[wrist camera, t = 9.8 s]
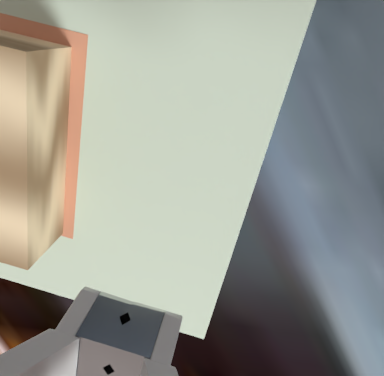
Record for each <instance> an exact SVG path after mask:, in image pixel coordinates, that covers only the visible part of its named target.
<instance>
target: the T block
mask: <svg viewBox="0 0 384 376" xmlns="http://www.w3.org/2000/svg"><path fill="white" fill-rule="evenodd" d="M71 50H72V47H70V46H66V45H62V44H57V43H53V42H49V41H45V40H41V39H37V38H33V37H29V36H25V35H21V34H16V33H12V32H8V31H4V30H0V262H1V263H4V264H8V265H11V266H15V267H18V268H22V269H25V270H29V269H30V268H31V266H32V265H33V264H34V263H35V262H36V261H37V260H38V259H39V258H40V257H41V256H42V255H43V254H44V253H45V252H46V251H47V250H48V249H49V248H50V247H51V245H52V244H53V243H54V242H55V241H56V240H57V239H58V238H59V237H60V236H61V235H62V234H63V220H64V199H65V178H66V156H67V135H68V114H69V93H70V71H71Z"/></svg>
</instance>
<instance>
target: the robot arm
mask: <svg viewBox="0 0 384 376" xmlns="http://www.w3.org/2000/svg"><path fill="white" fill-rule="evenodd" d="M181 322H182V315H178V314H175V313H171V312H168V311H166V312H165V310H162V309H158V308H155V307H151V306H148V305H144V304H141V303H137V302H132V301H129V300H126V299H123V298H120V297H117V296H114V295H111V294H108V293H105V292H101V291H98V290H95V289H92V288H89V287H86V286H85V287H84V288H83V289H82V290H81V291H80V292H79V294H78V295H77V297H76V298H75V300H74V302H73V303H72V305H71V306H70V308H69V309H68V311H67V312H66V314H65V315H64V317H63V318H62V320H61V321H60V323H59V324H58V326H57V328H56V329H55V330H53V329H48V330H46V331H44V332H43V333H41V334H39V335H37V336H35V337H33V338H31V339H29V340H27V341H26V342H24V343H22V344H20V345H18V346H16V347H14V348H12V349H10V350H9V351H7V352H5V353H3V354H1V355H0V376H178V373H177V370H176V367H173V366H170V365H171V362H172V358H173V354H174V350H175V346H176V342H177V338H178V334H179V330H180V326H181Z"/></svg>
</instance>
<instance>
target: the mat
mask: <svg viewBox="0 0 384 376" xmlns="http://www.w3.org/2000/svg"><path fill="white" fill-rule="evenodd" d="M315 3H316V0H0V30H4V31H8V32H12V33H16V34H21V35H25V36H29V37H33V38H37V39H41V40H45V41H49V42H53V43H57V44H62V45H66V46H70V47H72V50H71V71H70V93H69V114H68V135H67V156H66V178H65V199H64V220H63V234H62V235H61V236H60V237H59V238H58V239H57V240H56V241H55V242H54V243H53V244H52V245H51V247H50V248H49V249H48V250H47V251H46V252H45V253H44V254H43V255H42V256H41V257H40V258H39V259H38V260H37V261H36V262H35V263H34V264H33V265H32V266H31V268H30V269H29V270H25V269H22V268H18V267H15V266H11V265H8V264H4V263H1V262H0V278H4V279H7V280H10V281H13V282H17V283H20V284H23V285H27V286H30V287H33V288H37V289H40V290H43V291H46V292H50V293H53V294H56V295H60V296H63V297H66V298H70V299H73V300H75V298H76V297H77V295H78V294H79V292H80V291H81V290H82V289H83V288H84V287H85V286H86V287H89V288H92V289H95V290H98V291H101V292H105V293H108V294H111V295H114V296H117V297H120V298H123V299H126V300H129V301H132V302H137V303H141V304H144V305H148V306H151V307H155V308H158V309H162V310H165V312H166V311H168V312H171V313H175V314H178V315H182V322H181V326H180V330H179V332H182V333H185V334H188V335H192V336H195V337H198V338H202V339H204V337H205V334H206V331H207V328H208V325H209V322H210V319H211V316H212V313H213V310H214V307H215V304H216V301H217V298H218V295H219V292H220V289H221V286H222V283H223V280H224V277H225V274H226V271H227V268H228V265H229V262H230V259H231V256H232V253H233V250H234V247H235V244H236V241H237V238H238V235H239V232H240V229H241V226H242V223H243V220H244V217H245V214H246V211H247V208H248V205H249V202H250V199H251V196H252V193H253V190H254V187H255V184H256V181H257V178H258V175H259V172H260V169H261V166H262V163H263V159H264V156H265V153H266V150H267V147H268V144H269V141H270V138H271V135H272V132H273V129H274V126H275V123H276V120H277V117H278V114H279V111H280V108H281V105H282V102H283V99H284V96H285V93H286V90H287V87H288V84H289V81H290V78H291V75H292V72H293V69H294V66H295V63H296V60H297V57H298V54H299V51H300V48H301V45H302V42H303V39H304V36H305V33H306V30H307V27H308V24H309V21H310V18H311V15H312V12H313V9H314V6H315Z"/></svg>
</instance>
